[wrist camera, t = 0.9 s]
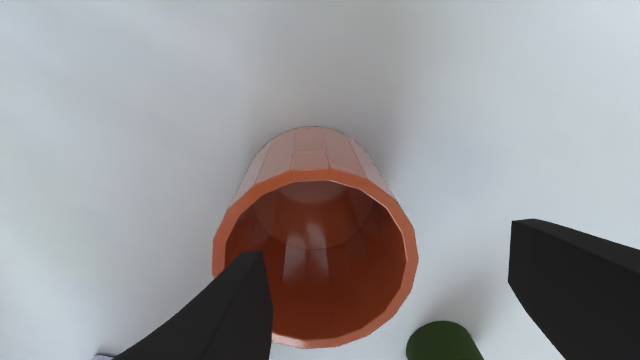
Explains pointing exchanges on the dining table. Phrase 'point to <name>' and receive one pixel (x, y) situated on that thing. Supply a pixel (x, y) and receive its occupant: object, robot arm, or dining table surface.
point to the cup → (321, 238)
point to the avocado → (442, 343)
